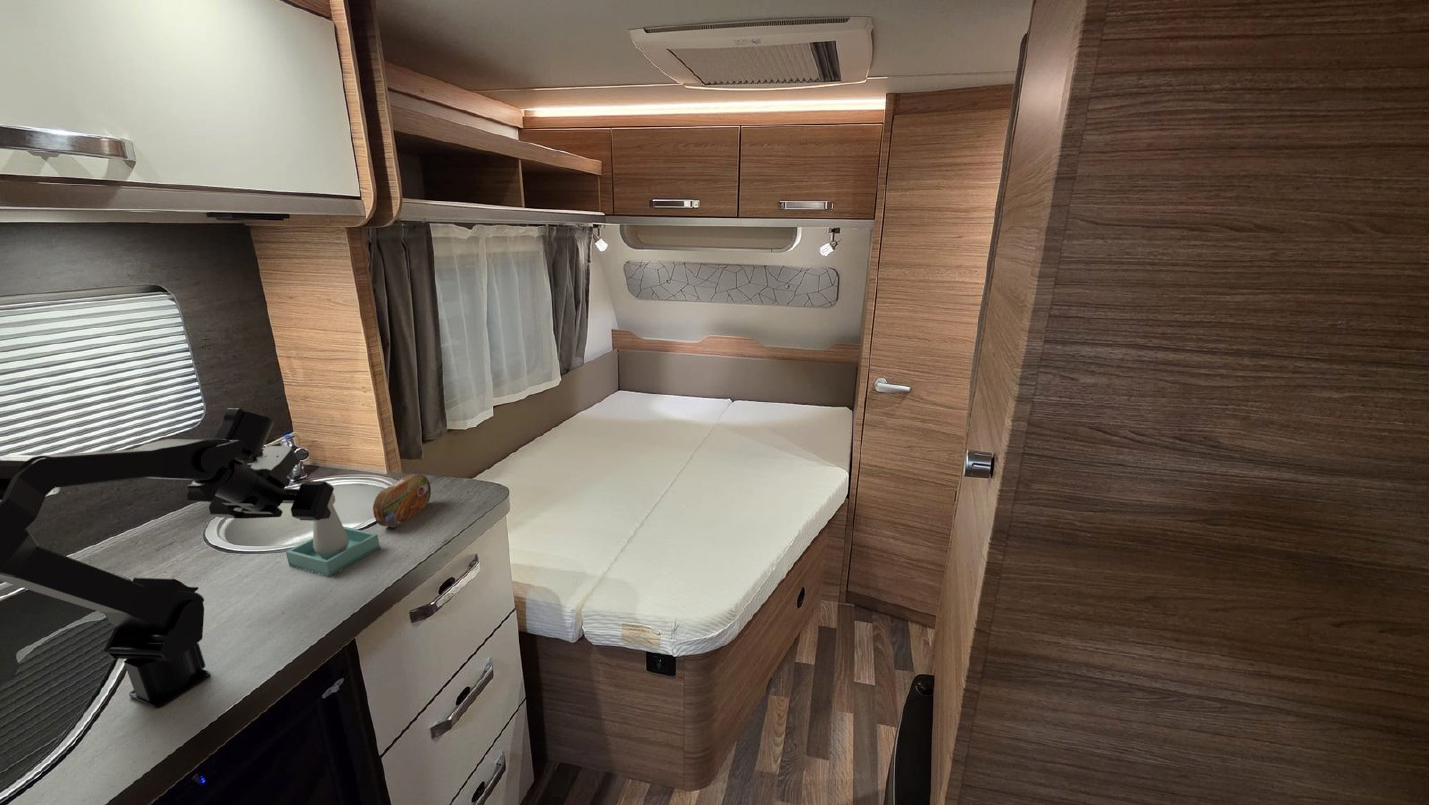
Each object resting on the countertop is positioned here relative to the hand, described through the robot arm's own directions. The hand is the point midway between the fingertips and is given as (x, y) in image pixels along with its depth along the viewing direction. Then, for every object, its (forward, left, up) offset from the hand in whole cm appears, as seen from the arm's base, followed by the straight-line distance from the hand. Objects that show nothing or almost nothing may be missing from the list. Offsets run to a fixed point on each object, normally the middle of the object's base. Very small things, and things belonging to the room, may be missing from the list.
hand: (305, 514), depth 105 cm
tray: (+5, +1, -12) cm, 12 cm away
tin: (+22, +2, -12) cm, 25 cm away
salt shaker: (+4, +1, -11) cm, 12 cm away
